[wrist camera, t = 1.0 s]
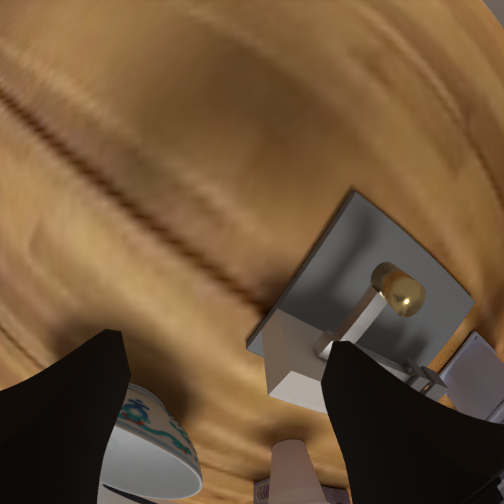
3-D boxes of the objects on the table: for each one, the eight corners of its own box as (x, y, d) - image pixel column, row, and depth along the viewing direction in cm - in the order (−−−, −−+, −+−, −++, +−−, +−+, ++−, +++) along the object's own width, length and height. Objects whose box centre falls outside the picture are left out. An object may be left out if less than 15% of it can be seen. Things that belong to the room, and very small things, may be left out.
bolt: (449, 310, 15) (474, 331, 12) (393, 378, 17) (410, 405, 14) (381, 254, 14) (410, 275, 11) (313, 343, 15) (326, 378, 12)
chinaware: (57, 325, 19) (10, 376, 12) (218, 368, 20) (210, 447, 13) (84, 421, 23) (63, 467, 16) (203, 454, 25) (197, 508, 17)
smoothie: (267, 431, 23) (278, 553, 10) (325, 432, 24) (353, 541, 10) (254, 458, 25) (259, 559, 12) (305, 459, 26) (323, 553, 12)
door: (470, 298, 19) (515, 334, 13) (388, 398, 23) (413, 447, 16) (351, 190, 16) (411, 207, 10) (246, 343, 20) (247, 415, 13)
